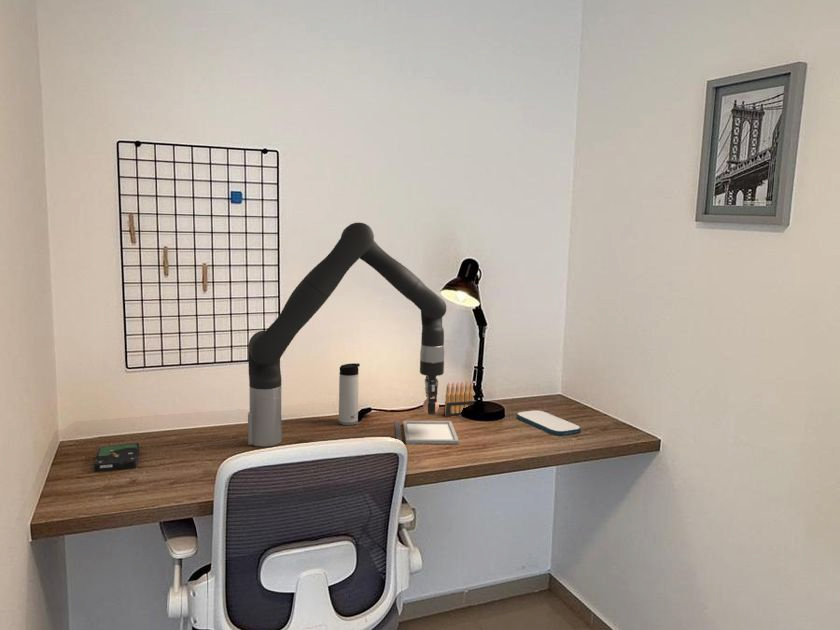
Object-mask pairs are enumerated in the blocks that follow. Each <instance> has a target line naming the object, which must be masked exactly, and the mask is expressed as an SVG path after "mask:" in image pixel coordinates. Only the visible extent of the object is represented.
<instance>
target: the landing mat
mask: <svg viewBox="0 0 840 630" xmlns="http://www.w3.org/2000/svg"><path fill="white" fill-rule="evenodd" d="M402 425H403V426H402V427H403V433H404V441H405V444H406V445H459V444H460V443H459V442H460V441H459V437H458V435H457V432H456V430H455V428H454V424H453V422H452V421H451V420H402ZM394 427H395V429H394V430H395V438H397V439H399V440H403V439H402V433H401V425H400V421H394Z"/></svg>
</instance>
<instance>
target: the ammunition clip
mask: <svg viewBox="0 0 840 630" xmlns="http://www.w3.org/2000/svg"><path fill="white" fill-rule="evenodd" d="M445 392H446V393H445V402H444V410H443V411H444V412H443V416H444V417H445V418H452V417H451V416H456V417H460V416H459V415H461V412H462V410H463V408H466V407H468V406H471V405H473V404H474V385H473V381H470V383H469V382H468V381H466V382H465V385H464V382H463V381H461V383H460V384H459V382H458V381H457V382H456V385H455V383H454V382H452V383H451V386H450V383H449V382H448V383H447V385H446V391H445ZM474 405H475V404H474Z"/></svg>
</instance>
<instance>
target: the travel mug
mask: <svg viewBox="0 0 840 630" xmlns="http://www.w3.org/2000/svg"><path fill="white" fill-rule="evenodd" d="M360 366H361V364H360V363H355V362H354V363H345V364H341V365H340V367H339V374H338V375H339V379H338V381H339V382H338V424H340V425H341V424H342V425H343V426H355V425H358V422H359V419H358V417H359V378H360V377H359V367H360ZM354 424H355V425H354Z"/></svg>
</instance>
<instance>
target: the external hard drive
mask: <svg viewBox="0 0 840 630" xmlns="http://www.w3.org/2000/svg"><path fill="white" fill-rule="evenodd" d="M516 418H517V420H519V419H520V420H519V421H521V420H522V421H521V422H523V421H524V422H523V423H525V422H526V423H525V424H527V423H528V424H527V425H530V426H532V425H533V426H532V427H534V426H535V427H534V428H536V427H537V428H536V429H538V428H539V430H541V429H542V431H543V430H544V431H543V432H545V431H546V433H547V432H548V433H547V434H550V433H551V434H550V435H552V434H553V436H556V435H558V437H564V435H566V436H570V434H572V435H576V433H578V434H580V433H581V427H580V426H579V425H577V424H575V423H573V422H571V421H567V420H566V419H563V418H561V417H558V416H556V415H553V414H551V413H549V412H546V411H544V410H539V409H538V410H534V409H533V410H527V411H519V412H517V414H516ZM579 432H580V433H579Z"/></svg>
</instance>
